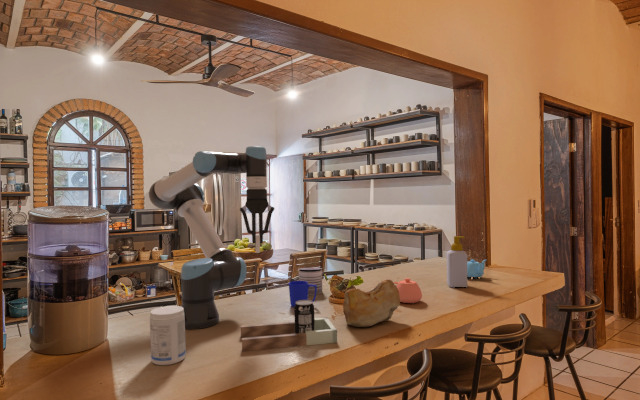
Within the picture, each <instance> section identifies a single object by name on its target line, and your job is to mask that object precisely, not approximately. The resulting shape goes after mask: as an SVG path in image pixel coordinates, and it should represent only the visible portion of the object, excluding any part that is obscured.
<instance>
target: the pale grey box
mask: <svg viewBox="0 0 640 400" xmlns="http://www.w3.org/2000/svg"><path fill="white" fill-rule="evenodd" d="M314 319H315V330H314V331H306V340H307V345H306V346H312V345H313V346H314V345H324V344H325V345H326V344H333V343H338V329H337V328H336V327H335V325H333V323H332V322H331V320H330V319H329V318H328V317H320V318H319V317H317V318H314Z"/></svg>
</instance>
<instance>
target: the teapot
mask: <svg viewBox="0 0 640 400" xmlns="http://www.w3.org/2000/svg"><path fill="white" fill-rule="evenodd" d="M469 260H470V261H467V277H468V278H470V277H474V278H477V277H481V278H482V277H483V276H484V274H485V271H484V270H485V265H486V264H485V263H486V262H487V259H483V260H482V262H478V261H476V260H475V259H469Z"/></svg>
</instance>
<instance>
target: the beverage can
mask: <svg viewBox="0 0 640 400" xmlns="http://www.w3.org/2000/svg"><path fill="white" fill-rule="evenodd" d="M293 308H294V309H293V311H294V313H293V314H294V322H295V333H294V334H297V333H306V331H314V330H315V319H316V318H315V305H314V302H313V301H312V300H311V299H308V300H299V301H296V305H295V307H293Z"/></svg>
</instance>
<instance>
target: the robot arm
mask: <svg viewBox="0 0 640 400" xmlns="http://www.w3.org/2000/svg"><path fill="white" fill-rule="evenodd" d="M267 160H268V157H267V149H266V147H264V146H258V145H257V146H256V145H253V146H252V145H251V146H247V147H246V148H245V152H244V153H232V152H219V151H210V150H203V151H202V150H200V151H199V150H198V151H197V152H195V154H194V156H193V158H192V161H191V162H190V163H188V164H187V165H185V166H184V167H182V168H181V169H179V170H177V171H175V172H174V173H173V174H171V175H169V176H168V177H166V178H161V179H159V180H156V181H155V182H153V184H152V185H151V186H150V188H149V190H148V197H149V201H150V203H151V204H153V206H154V207H156V208H157V209H161V210H175V211H176V213H177V215H178V216H179V217H180V218H184V221H185V222H186V224H187V225H188V228H189V230H190V231H191V233H192V235H193V237H194V239H195V240H196V242H197V244H198V247H200V250H201V251H202V254H203V255H204V257H203V258H195V259H191V260H189V261H186V262H184V263H183V264H182V266H181V269H180V270H181V271H180V281H181V282H180V283H181V284H180V285H181V305H180V306H181V307H183V308H184V317H185V330H187V329H188V330H195V329H196V330H198V329H205V328H206V329H207V328H209V327H213V326H215V325H217V324H218V323H219V322H220V314H219V311H218V308H217V306H216V302H215V292H219V291H222V290H223V291H224V290H226V289H233V288H236V287H238V286H239V287H240V285H242V284H243V283H244V282H245V280H246V278H247V264H246V261H245V260H244V258H242V257H240V256H235V255H234V253H233V251H232V250H231V249H228V248H226V247H225V245H224V243H223V241H222V240H221V238H220V236H219V235H218V233H217V231H216V229H215V227H214V226H213V224H212V222H211V220H210V219H209V216H207V215H208V214H206V212H205V210H204V209H203V208H204V203H205V193H204V190H203V188H202V186H200V185H199V184H198V183H199V182H200V181H202V180H204V179H206V178H208V177H209V176H211V175H214V174H216V173H217V174H229V175H230V174H231V175H239V174H246V175H245V178H246V179H245V182H246V184H245V185H246V186H245V187H246V188H247V190H246V202H245V204H244V206H242V207H240V208H239V211H240V212H241V215H242V217H243V220H244V225H245V228H246V232H247V234H250V235H251V236H252V237H251V242H252V244H254V245H255V251H254V252H255V253H256V254H259V253H261V244H263V243H264V234H267V233H268V231H269V228H270V223H271V217H272V215H273V212H274V210H275V207H274V206H272V205H270V204H269V201H268V190H267V189H266V188H267V187H268V181H267V180H268V178H267V172H268V171H267ZM266 209H267V215H266V219H265V224H263V223H264V221H263V220H264V219H263V217H264V216H263V214H264V212H265V211H266ZM247 210H248V211H249V212H250V214H251V227H250V223H249V219H248V215H247ZM256 214H258V234H257V225H256V223H257V222H256V221H257V220H256V218H257V217H256V216H257V215H256ZM263 225H264V226H263Z"/></svg>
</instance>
